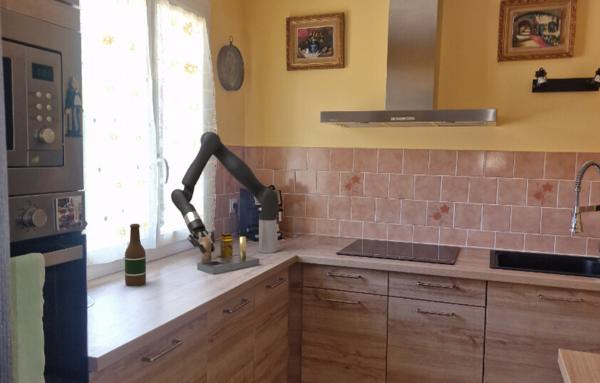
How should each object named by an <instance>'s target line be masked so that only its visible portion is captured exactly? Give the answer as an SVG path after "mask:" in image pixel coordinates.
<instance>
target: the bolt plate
mask: <svg viewBox="0 0 600 383" xmlns="http://www.w3.org/2000/svg"><path fill="white" fill-rule="evenodd" d="M238 250H239V254H238V255H232V257H227V258H221V259H218V258H216V259H211V260H210V261H205V262H202V261H201V262H197V263H196V267H197V268H196V270H197V271H201V272H203V273H204V272H205V273H207V274H210V275H216V274H217V275H218V274H222V273H223V274H224V273H226V272H231V271H236V270H243V269H246V268H251V267H257V266H259V265H260V258H257V257H253V256H250V255H247V237H246V236H239V248H238Z"/></svg>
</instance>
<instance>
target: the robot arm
mask: <svg viewBox="0 0 600 383" xmlns="http://www.w3.org/2000/svg"><path fill="white" fill-rule="evenodd" d="M212 156H213V157H215V158H216V159H217V160H218V161H219V162H220V164H221V165H222V166H223V167H224V169H225V170H226V171H227V172H228V173H229V174H230V176H232V177H233V178H234V179H235V180H236V181H238V183H239V184H241V185H242V186H243V187H244V188H246V190H248V191H249V192H250V193H251V194H252V195H253V197H254V198H255V199H256V201H257V202H258V204H260V213H259V215H258V252H259V253H263V254H271V253H272V254H273V253H276V252H277V251H279V250H278V242H279V241H278V240H279V238H278V235H279V234H278V232H277V217H278V212H279V195H278V193H277V192H276V191H275V190H274V189H269V188H268V187H267V186H266V185H264V184H263V183H261V181H259V179H258V178H257V176H256V175H255V173H254V172H253V170H252V169H251V168H250V167H249V165H248V164H247V163H246V162H244V160H243V159H242V158H240V157H239V156H238V155H236V154H235V153H234V152H233V151H232V150H229V149H228V148H227V147H226V145H224V143H223V142H222V140H221V137H220V136H219V134H217V133H216V132H213V131H206V132H204V133H203V134H202V135H201V136H200V148H199V150H198V153H197V154H196V156H195V158H194V159H193V161H192V162H191V164H190V165H189V166H188V169H187V170H186V172H185V174H184V176H183V177H182V180H181V185H183V189H180V188H176V189H173V190H172V191H171V194H170V199H171V202H172V204H174V206H175V208H176V209H177V210H178V211H179V212H180V213H181V217H182V219H183V220H184V223H185V225H186V227H187V229H188V231H189V233H190V234H189V235H188V236H187V240H188V242H190V243H191V245H192V246H193V247H194V248H198V249H199V250H200V253H201V254H202V253H203V254H204V253H205V252H206V250H205V248H204V246H203V245H202V237H211V253H214V252H215V250H216V247H215V246H214V243H215V242H216V239H215V233H214V231H211V232H208V230H207V229H206V226H205V223H204V222H203V220H202V218H201V216H200V215H199V213H198V211H197V209H196V207H195V206H194V205H193V203H191V202H192V200H193V196H194V192H195V188H196V185H197V183H198V182H199V180H200V178H201V176H202V174H203V172H204V170H205V168H206V166H207V164H208V163H209V161H210V159H211V157H212Z"/></svg>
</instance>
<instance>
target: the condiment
mask: <svg viewBox="0 0 600 383" xmlns="http://www.w3.org/2000/svg"><path fill="white" fill-rule="evenodd" d="M220 236H221V237H220V242H219V246H220V248H219V249H220V253H219V254H220V255H214V256H213V257H214V258H216V259H221V258H227V257H232V256H234V255H233V251H234V250H233V246H234V245H233V242H234V241H233V240H234V239H233V234H232V233H231V232H221V235H220Z"/></svg>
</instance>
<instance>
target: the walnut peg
mask: <svg viewBox="0 0 600 383" xmlns="http://www.w3.org/2000/svg"><path fill="white" fill-rule="evenodd" d="M202 245H203V246H204V248H205V250H206V252H205V253H204V254H203V253H202V252H201V262H205V261H210V260H212V252H211V237H202Z"/></svg>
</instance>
